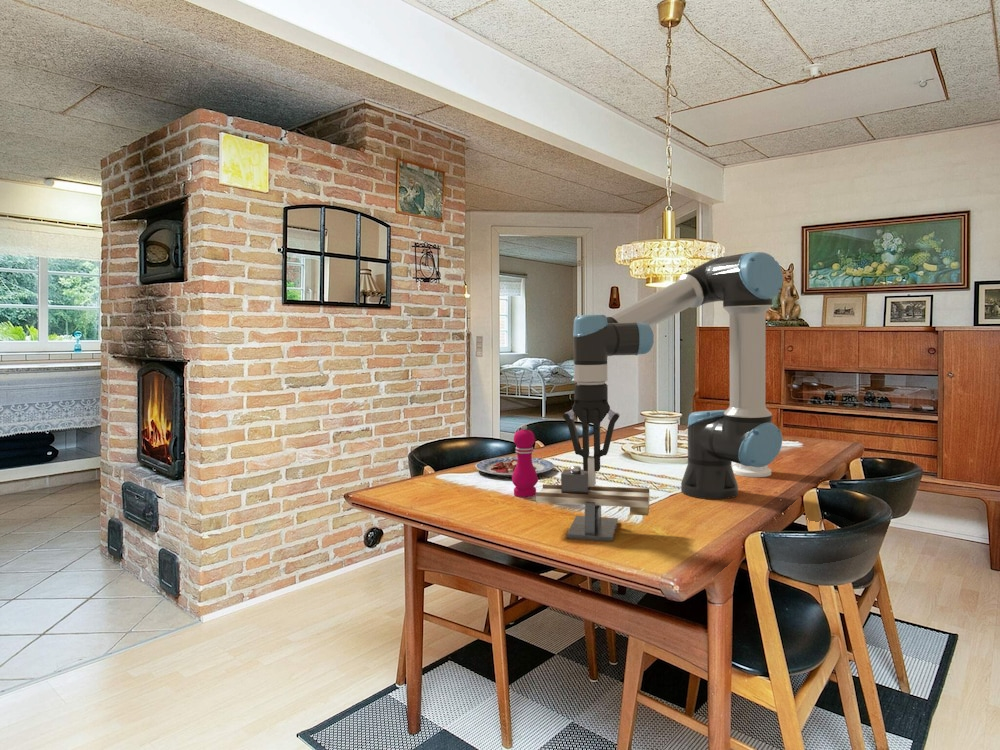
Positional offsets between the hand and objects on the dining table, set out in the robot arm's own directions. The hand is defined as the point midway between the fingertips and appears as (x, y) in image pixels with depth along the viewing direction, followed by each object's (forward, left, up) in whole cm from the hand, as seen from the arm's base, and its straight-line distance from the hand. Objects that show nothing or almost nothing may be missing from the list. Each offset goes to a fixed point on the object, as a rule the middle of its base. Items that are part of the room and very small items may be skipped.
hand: (591, 484), depth 146 cm
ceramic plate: (+32, -55, -11) cm, 65 cm away
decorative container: (-42, -67, -11) cm, 80 cm away
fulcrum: (0, 0, -11) cm, 11 cm away
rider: (+4, 0, -2) cm, 4 cm away
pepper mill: (+22, -27, -11) cm, 37 cm away
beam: (0, 0, -6) cm, 6 cm away
